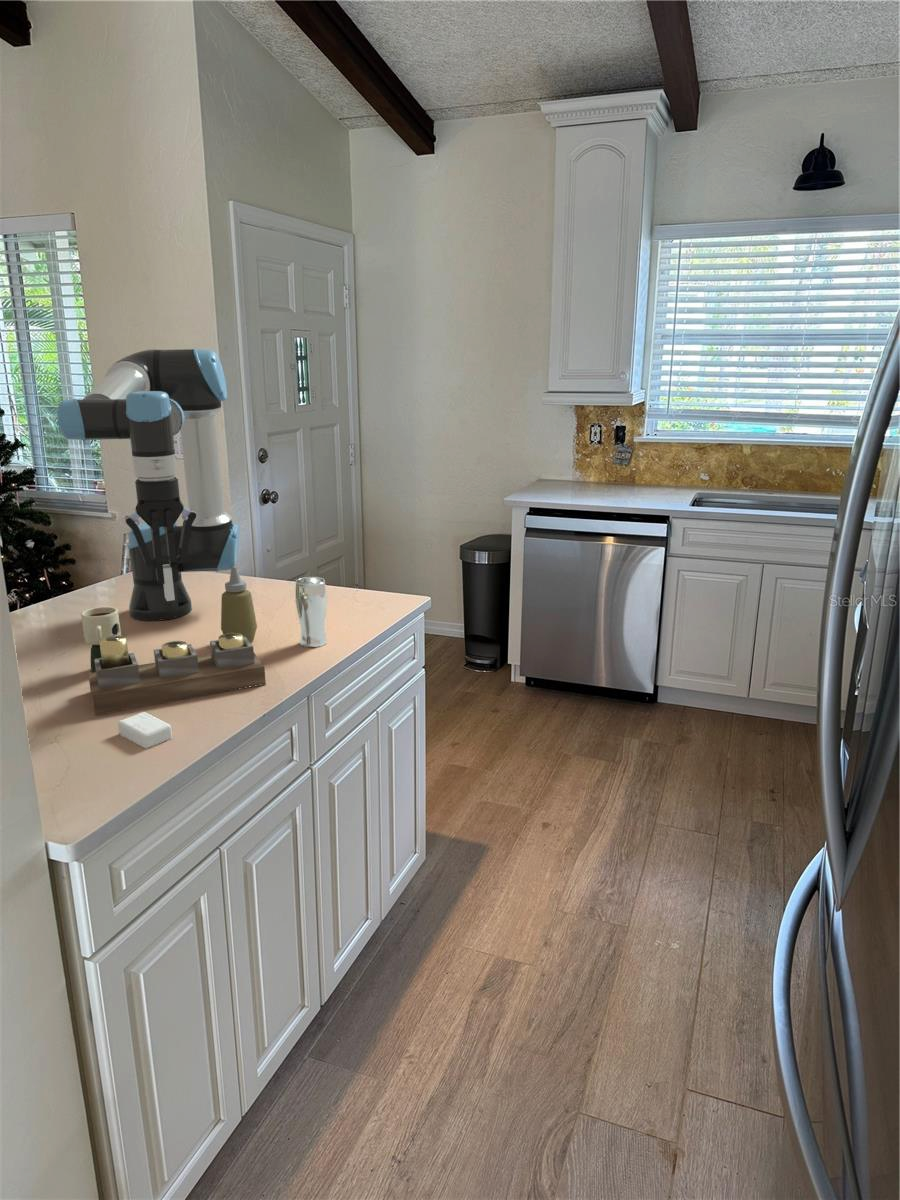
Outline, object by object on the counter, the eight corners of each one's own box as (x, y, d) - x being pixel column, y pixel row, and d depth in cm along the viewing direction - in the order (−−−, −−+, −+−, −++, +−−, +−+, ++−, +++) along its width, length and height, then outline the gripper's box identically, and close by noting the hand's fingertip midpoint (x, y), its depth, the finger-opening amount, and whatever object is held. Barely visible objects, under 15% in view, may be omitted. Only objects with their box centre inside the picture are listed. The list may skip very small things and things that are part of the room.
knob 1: (101, 661, 159) (98, 636, 158) (127, 657, 161) (124, 632, 160) (103, 669, 155) (100, 644, 154) (130, 665, 157) (127, 640, 156)
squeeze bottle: (249, 649, 186) (243, 572, 180) (216, 647, 187) (209, 571, 182) (263, 637, 193) (258, 563, 188) (231, 635, 195) (225, 561, 190)
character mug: (123, 677, 171) (115, 618, 167) (86, 681, 169) (77, 621, 165) (127, 658, 181) (120, 602, 177) (92, 662, 179) (84, 605, 175)
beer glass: (334, 640, 191) (331, 578, 187) (317, 650, 185) (314, 586, 181) (309, 636, 194) (306, 575, 190) (292, 645, 188) (288, 582, 184)
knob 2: (218, 657, 170) (216, 634, 168) (241, 654, 172) (239, 630, 170) (223, 665, 166) (221, 641, 164) (247, 661, 168) (245, 637, 166)
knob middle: (162, 666, 165) (159, 642, 163) (187, 662, 167) (184, 638, 165) (166, 675, 161) (163, 650, 159) (191, 670, 163) (189, 646, 161)
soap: (174, 739, 144) (172, 724, 143) (145, 751, 140) (143, 735, 139) (146, 725, 150) (144, 709, 149) (118, 735, 146) (116, 720, 145)
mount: (90, 691, 163) (85, 656, 161) (251, 664, 177) (248, 631, 175) (95, 715, 153) (90, 677, 151) (265, 684, 167) (263, 649, 165)
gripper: (121, 483, 147) (136, 609, 154) (196, 477, 152) (207, 599, 159) (116, 477, 153) (132, 597, 160) (189, 471, 159) (200, 589, 166)
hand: (169, 598), depth 160 cm, fingers closed
